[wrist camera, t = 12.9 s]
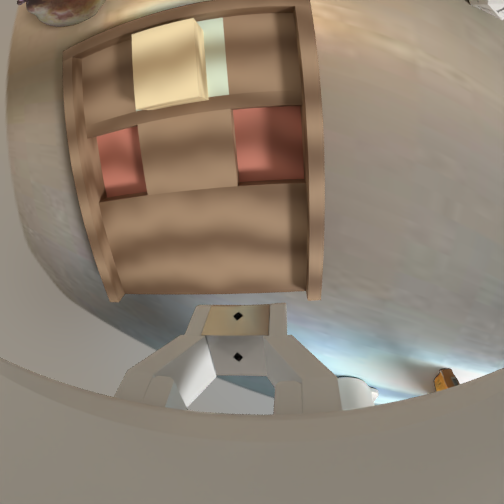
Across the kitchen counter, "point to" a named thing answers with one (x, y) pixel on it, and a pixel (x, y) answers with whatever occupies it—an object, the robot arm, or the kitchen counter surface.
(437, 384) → the pancake mix bag
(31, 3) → the fruit
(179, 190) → the box
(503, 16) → the die
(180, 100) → the maple block
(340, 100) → the kitchen counter surface
